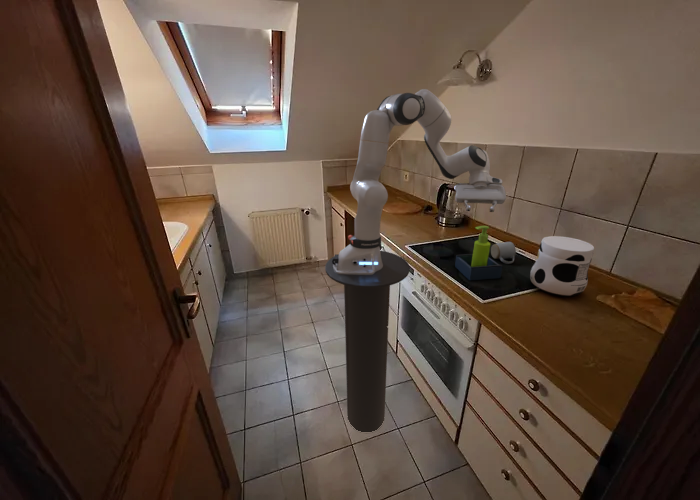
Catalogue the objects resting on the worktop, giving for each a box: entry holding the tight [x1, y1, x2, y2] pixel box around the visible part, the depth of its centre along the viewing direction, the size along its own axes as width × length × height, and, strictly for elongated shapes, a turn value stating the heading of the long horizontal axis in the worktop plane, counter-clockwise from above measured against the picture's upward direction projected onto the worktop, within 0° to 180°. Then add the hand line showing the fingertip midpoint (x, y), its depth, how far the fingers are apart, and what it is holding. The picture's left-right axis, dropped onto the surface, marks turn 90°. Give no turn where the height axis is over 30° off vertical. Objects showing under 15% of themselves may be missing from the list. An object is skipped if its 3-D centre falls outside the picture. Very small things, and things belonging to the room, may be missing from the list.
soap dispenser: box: [471, 225, 491, 267], centre depth 120 cm, size 6×7×20 cm
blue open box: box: [454, 253, 503, 281], centre depth 123 cm, size 13×13×6 cm
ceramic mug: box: [490, 241, 517, 265], centre depth 134 cm, size 11×8×8 cm
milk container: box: [529, 235, 595, 297], centre depth 107 cm, size 17×17×18 cm
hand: (480, 210), depth 126 cm, fingers open, 8 cm apart
